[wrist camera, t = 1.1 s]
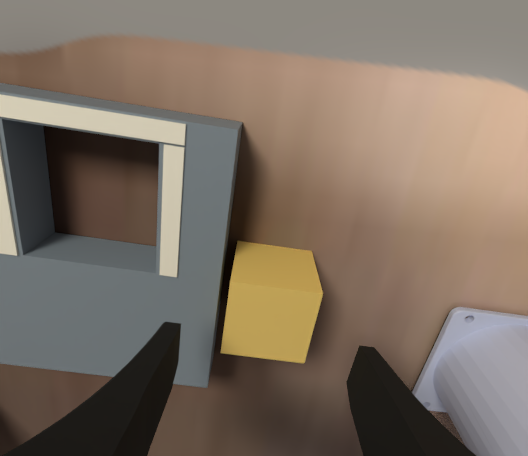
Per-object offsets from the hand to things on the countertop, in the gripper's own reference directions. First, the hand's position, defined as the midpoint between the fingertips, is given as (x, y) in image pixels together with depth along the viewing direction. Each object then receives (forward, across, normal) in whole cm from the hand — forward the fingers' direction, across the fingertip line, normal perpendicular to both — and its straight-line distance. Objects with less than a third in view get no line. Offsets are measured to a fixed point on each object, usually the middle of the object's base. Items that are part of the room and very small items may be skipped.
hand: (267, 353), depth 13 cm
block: (+6, 0, 0) cm, 6 cm away
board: (+6, +8, -1) cm, 10 cm away
